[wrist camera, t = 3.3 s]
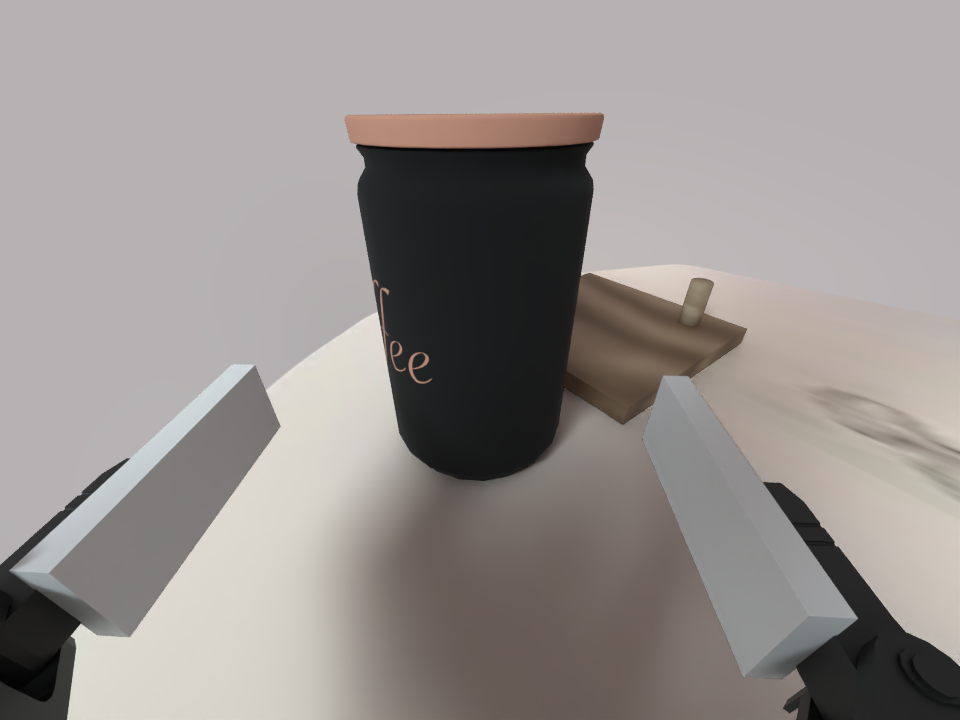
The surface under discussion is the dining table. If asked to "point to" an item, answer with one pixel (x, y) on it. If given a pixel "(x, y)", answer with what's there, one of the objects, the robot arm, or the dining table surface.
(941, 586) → the dining table surface
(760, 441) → the dining table surface
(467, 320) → the coffee jar
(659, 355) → the pegged base plate
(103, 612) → the robot arm
